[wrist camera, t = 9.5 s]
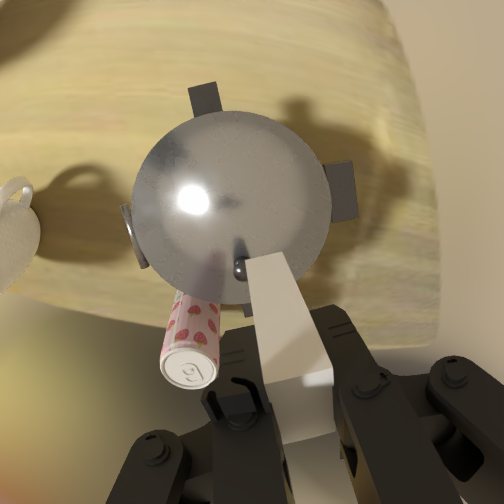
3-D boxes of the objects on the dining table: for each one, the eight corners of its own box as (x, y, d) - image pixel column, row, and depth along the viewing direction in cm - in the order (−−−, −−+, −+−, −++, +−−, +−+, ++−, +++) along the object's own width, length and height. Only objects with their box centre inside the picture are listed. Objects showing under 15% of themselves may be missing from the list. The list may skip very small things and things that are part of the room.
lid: (105, 146, 23) (91, 148, 20) (335, 93, 22) (346, 89, 20) (160, 313, 29) (155, 329, 27) (358, 271, 29) (369, 285, 26)
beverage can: (199, 316, 41) (190, 398, 27) (169, 290, 39) (145, 367, 25) (229, 292, 40) (232, 372, 26) (199, 263, 38) (186, 337, 24)
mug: (22, 150, 30) (-43, 165, 18) (76, 193, 33) (17, 223, 21) (-8, 234, 34) (-61, 269, 22) (39, 276, 37) (-8, 323, 25)
